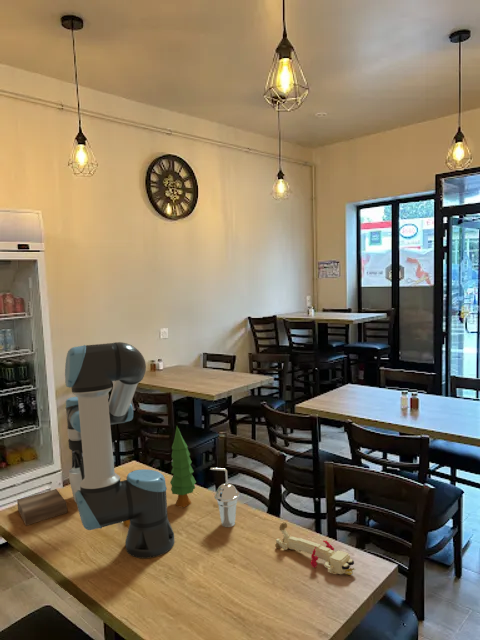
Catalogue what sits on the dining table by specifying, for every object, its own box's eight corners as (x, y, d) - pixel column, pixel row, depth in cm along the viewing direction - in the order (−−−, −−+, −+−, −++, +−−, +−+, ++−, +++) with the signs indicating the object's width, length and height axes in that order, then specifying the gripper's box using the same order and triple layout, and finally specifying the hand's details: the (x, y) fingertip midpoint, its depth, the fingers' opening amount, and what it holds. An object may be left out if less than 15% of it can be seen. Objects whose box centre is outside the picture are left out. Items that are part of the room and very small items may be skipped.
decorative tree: (166, 506, 174) (162, 426, 171) (179, 495, 183) (175, 419, 180) (189, 510, 170) (185, 429, 168) (201, 498, 179) (197, 421, 176)
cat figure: (271, 556, 143) (344, 583, 126) (268, 528, 143) (341, 551, 126) (291, 542, 150) (362, 566, 133) (288, 515, 150) (359, 535, 133)
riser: (67, 512, 173) (66, 502, 172) (25, 525, 164) (24, 514, 164) (57, 498, 184) (56, 488, 184) (18, 510, 176) (17, 499, 176)
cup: (87, 505, 178) (85, 474, 176) (66, 504, 179) (63, 473, 178) (99, 494, 186) (97, 464, 185) (78, 493, 188) (76, 464, 187)
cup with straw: (235, 532, 155) (232, 473, 153) (210, 527, 158) (207, 469, 156) (244, 519, 162) (242, 463, 161) (220, 515, 166) (217, 460, 164)
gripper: (98, 442, 174) (102, 501, 176) (79, 428, 192) (83, 481, 194) (77, 447, 169) (81, 507, 171) (60, 432, 187) (65, 487, 189)
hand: (82, 493), depth 183 cm, fingers open, 9 cm apart
